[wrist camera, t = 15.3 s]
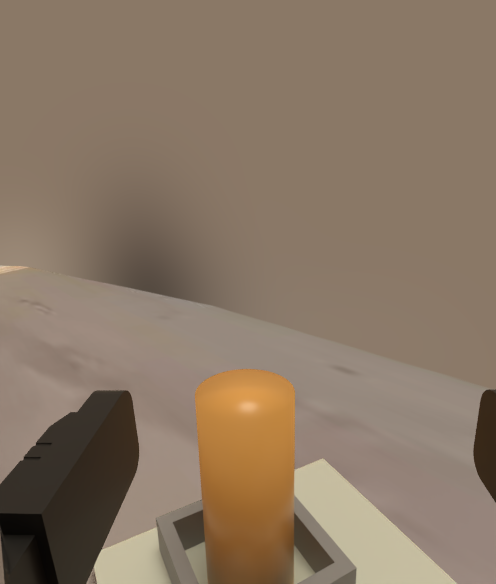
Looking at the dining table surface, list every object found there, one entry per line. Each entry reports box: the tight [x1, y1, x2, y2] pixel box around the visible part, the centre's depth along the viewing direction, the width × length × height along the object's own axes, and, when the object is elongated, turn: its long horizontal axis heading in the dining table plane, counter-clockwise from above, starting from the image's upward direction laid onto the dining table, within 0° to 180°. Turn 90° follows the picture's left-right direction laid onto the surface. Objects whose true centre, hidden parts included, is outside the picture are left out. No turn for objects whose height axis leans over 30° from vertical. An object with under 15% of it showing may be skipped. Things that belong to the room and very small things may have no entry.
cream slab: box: [94, 459, 457, 584], centre depth 23 cm, size 18×14×4 cm
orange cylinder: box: [195, 369, 295, 584], centre depth 22 cm, size 5×5×12 cm
